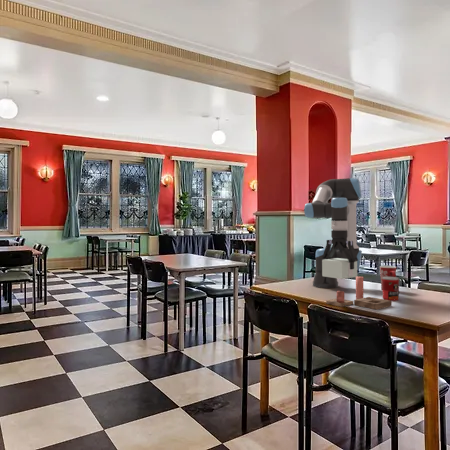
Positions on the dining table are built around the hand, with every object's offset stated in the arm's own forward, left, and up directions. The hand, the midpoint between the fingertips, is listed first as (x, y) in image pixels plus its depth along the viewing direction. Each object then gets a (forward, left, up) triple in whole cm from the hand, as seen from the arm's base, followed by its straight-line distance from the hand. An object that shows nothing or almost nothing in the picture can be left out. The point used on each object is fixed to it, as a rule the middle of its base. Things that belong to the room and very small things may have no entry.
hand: (339, 274), depth 192 cm
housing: (0, 0, -1) cm, 1 cm away
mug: (-4, +49, -14) cm, 51 cm away
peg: (+2, +13, -14) cm, 19 cm away
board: (0, 0, -14) cm, 14 cm away
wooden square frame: (+12, +9, -14) cm, 21 cm away
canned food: (+9, +29, -14) cm, 34 cm away
